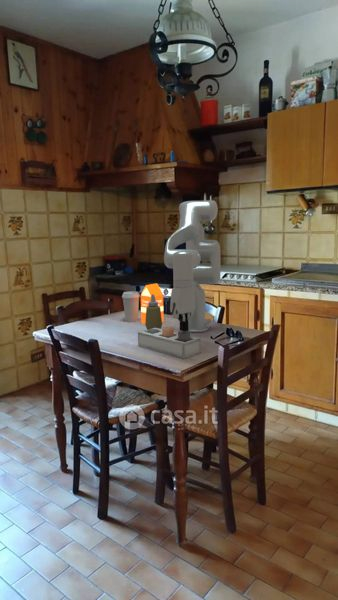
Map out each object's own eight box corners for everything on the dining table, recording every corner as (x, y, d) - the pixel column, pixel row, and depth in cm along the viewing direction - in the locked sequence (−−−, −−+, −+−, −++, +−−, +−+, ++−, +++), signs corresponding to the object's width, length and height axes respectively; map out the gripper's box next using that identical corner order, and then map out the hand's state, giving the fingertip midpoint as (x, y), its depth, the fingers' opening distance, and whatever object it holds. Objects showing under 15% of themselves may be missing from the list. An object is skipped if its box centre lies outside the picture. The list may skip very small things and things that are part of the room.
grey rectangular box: (155, 340, 186) (155, 327, 185) (200, 353, 168) (200, 338, 167) (138, 345, 179) (137, 332, 178) (183, 359, 161) (182, 343, 160)
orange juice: (141, 323, 219) (139, 284, 215) (153, 320, 225) (152, 282, 222) (152, 325, 214) (151, 286, 210) (164, 322, 220) (163, 283, 217)
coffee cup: (140, 322, 221) (139, 294, 218) (121, 322, 221) (120, 294, 218) (141, 318, 230) (140, 290, 227) (123, 318, 230) (122, 291, 227)
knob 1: (153, 339, 183) (153, 328, 182) (161, 341, 180) (161, 330, 179) (145, 342, 180) (145, 330, 179) (153, 344, 176) (152, 332, 175)
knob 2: (184, 341, 170) (183, 329, 169) (193, 343, 167) (192, 331, 166) (175, 344, 167) (175, 331, 166) (184, 346, 163) (184, 334, 162)
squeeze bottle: (149, 334, 196) (148, 296, 193) (142, 331, 203) (141, 294, 200) (165, 332, 200) (164, 294, 196) (157, 328, 207) (156, 292, 204)
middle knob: (168, 337, 176) (168, 325, 175) (176, 339, 173) (176, 327, 172) (159, 340, 173) (159, 328, 172) (168, 342, 170) (167, 330, 169)
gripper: (189, 280, 170) (190, 325, 173) (162, 285, 160) (163, 332, 163) (203, 282, 165) (204, 328, 168) (176, 287, 154) (177, 336, 158)
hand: (184, 330), depth 165 cm, fingers closed
